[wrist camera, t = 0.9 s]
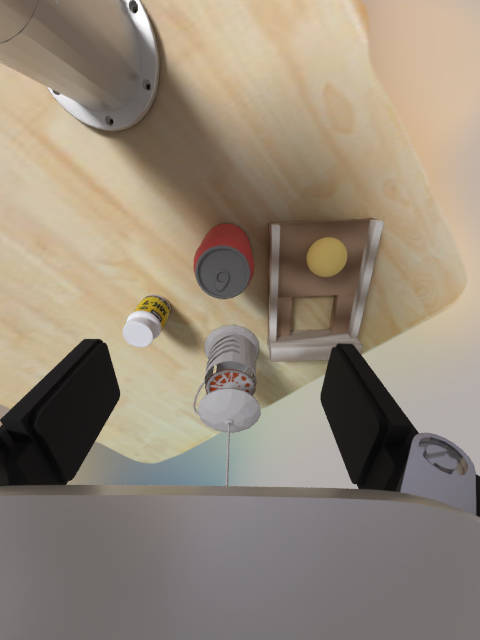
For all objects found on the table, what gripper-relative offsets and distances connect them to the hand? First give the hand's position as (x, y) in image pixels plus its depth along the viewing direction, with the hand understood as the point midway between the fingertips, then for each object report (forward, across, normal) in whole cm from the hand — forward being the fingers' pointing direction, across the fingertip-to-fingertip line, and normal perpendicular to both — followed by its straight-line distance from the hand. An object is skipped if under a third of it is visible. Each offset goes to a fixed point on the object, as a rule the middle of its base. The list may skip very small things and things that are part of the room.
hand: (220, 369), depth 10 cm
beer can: (+28, +1, +1) cm, 28 cm away
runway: (+28, -12, +7) cm, 31 cm away
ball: (+24, -12, +1) cm, 27 cm away
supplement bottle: (+28, +12, +10) cm, 32 cm away
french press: (+28, +1, +19) cm, 34 cm away
